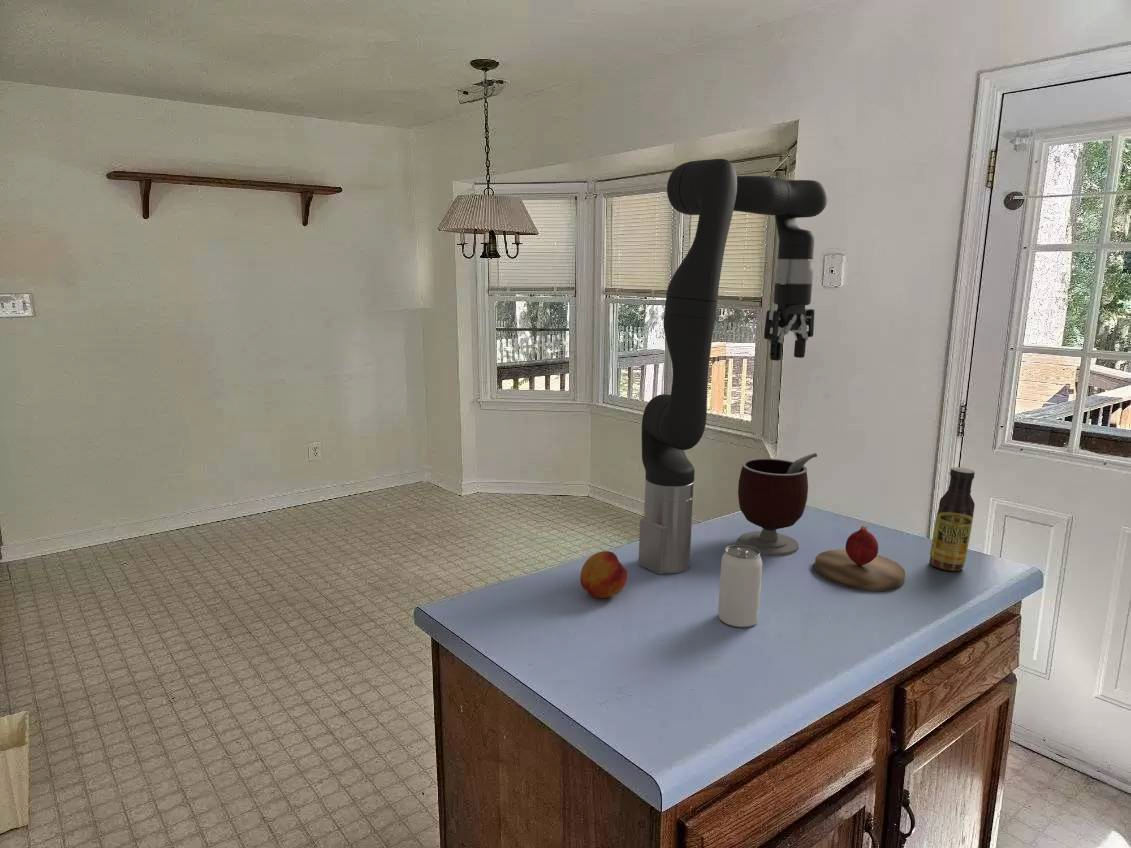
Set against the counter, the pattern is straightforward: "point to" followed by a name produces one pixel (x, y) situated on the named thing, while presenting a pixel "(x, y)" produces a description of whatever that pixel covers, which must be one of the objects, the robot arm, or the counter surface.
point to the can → (740, 586)
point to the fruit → (603, 575)
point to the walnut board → (859, 571)
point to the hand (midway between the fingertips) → (787, 358)
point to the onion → (861, 546)
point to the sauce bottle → (953, 522)
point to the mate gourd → (772, 501)
